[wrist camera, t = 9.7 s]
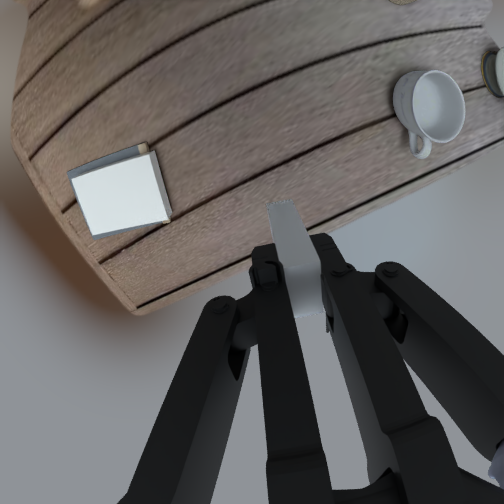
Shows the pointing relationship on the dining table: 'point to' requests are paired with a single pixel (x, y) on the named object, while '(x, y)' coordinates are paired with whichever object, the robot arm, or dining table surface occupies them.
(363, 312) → the robot arm
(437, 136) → the teacup
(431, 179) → the dining table surface
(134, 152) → the mat
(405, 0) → the candle
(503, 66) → the apothecary jar
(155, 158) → the tile
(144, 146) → the oak strip
